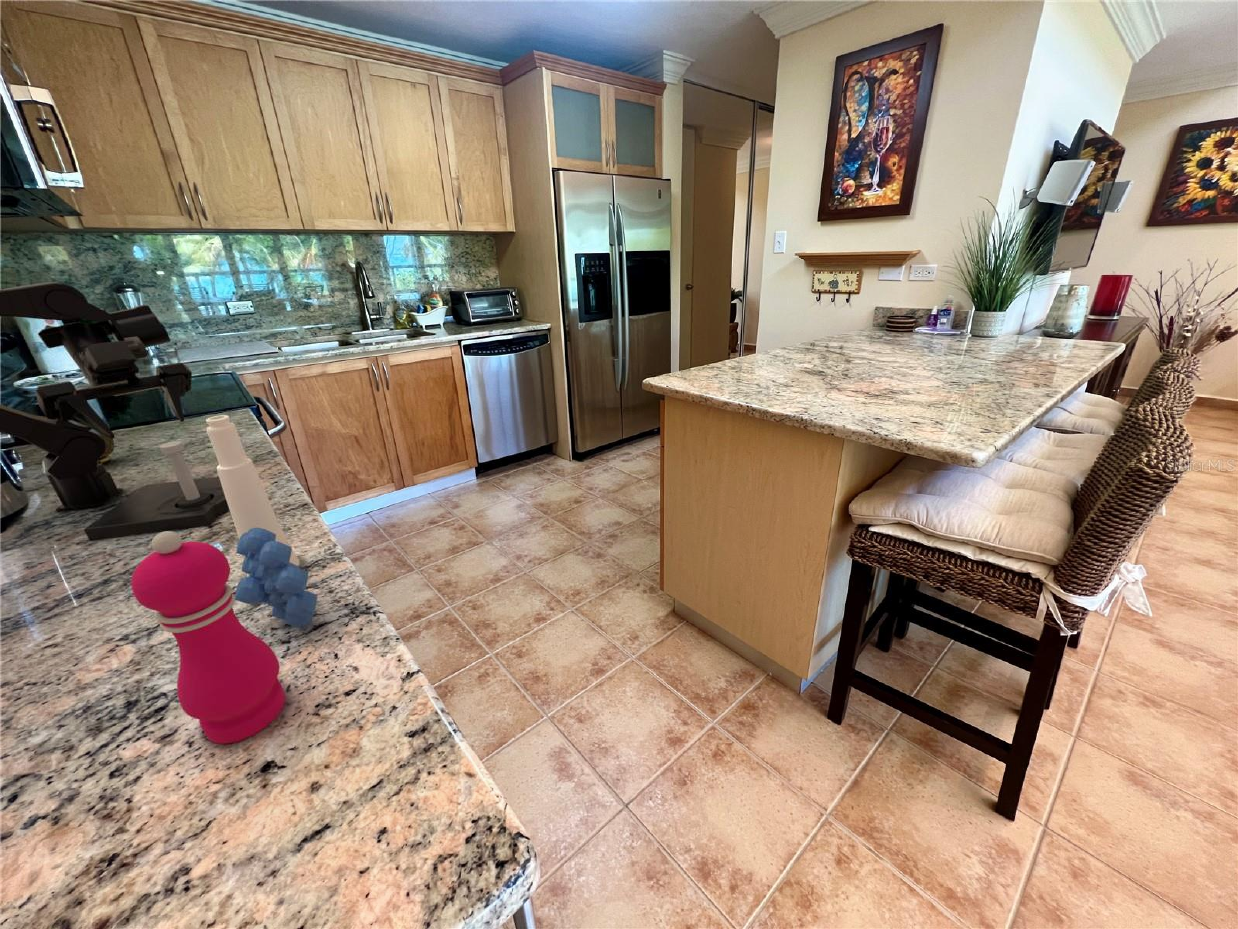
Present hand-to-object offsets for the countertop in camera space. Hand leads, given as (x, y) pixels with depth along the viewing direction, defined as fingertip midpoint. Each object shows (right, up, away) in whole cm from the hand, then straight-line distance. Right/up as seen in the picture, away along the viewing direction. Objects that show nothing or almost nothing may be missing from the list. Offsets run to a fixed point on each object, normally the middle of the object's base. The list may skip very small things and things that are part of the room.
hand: (149, 428), depth 82 cm
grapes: (+39, -25, -24) cm, 52 cm away
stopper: (+7, -14, +2) cm, 16 cm away
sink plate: (+2, -14, +3) cm, 14 cm away
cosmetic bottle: (+31, -21, -14) cm, 40 cm away
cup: (-31, -6, +22) cm, 38 cm away
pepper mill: (+43, -30, -35) cm, 63 cm away
